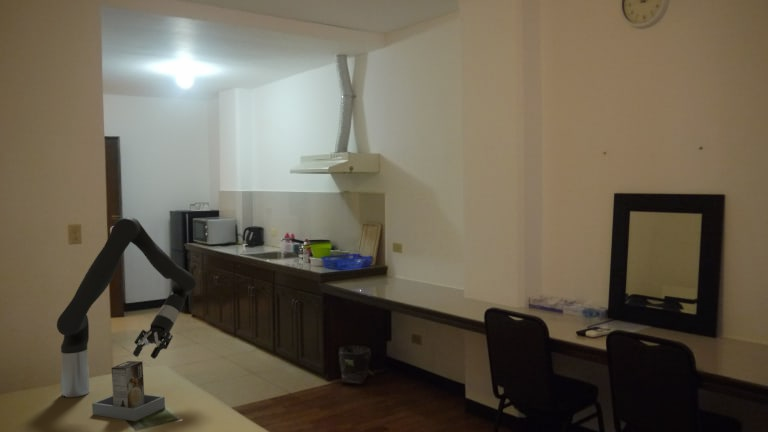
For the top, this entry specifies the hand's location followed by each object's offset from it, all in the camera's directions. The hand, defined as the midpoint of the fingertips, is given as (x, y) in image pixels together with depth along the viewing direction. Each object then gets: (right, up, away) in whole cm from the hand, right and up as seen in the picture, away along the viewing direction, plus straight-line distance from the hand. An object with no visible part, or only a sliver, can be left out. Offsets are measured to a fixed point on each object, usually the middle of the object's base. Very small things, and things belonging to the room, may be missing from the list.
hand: (143, 356), depth 225 cm
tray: (-3, -18, -7) cm, 19 cm away
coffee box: (-3, -17, -6) cm, 19 cm away
